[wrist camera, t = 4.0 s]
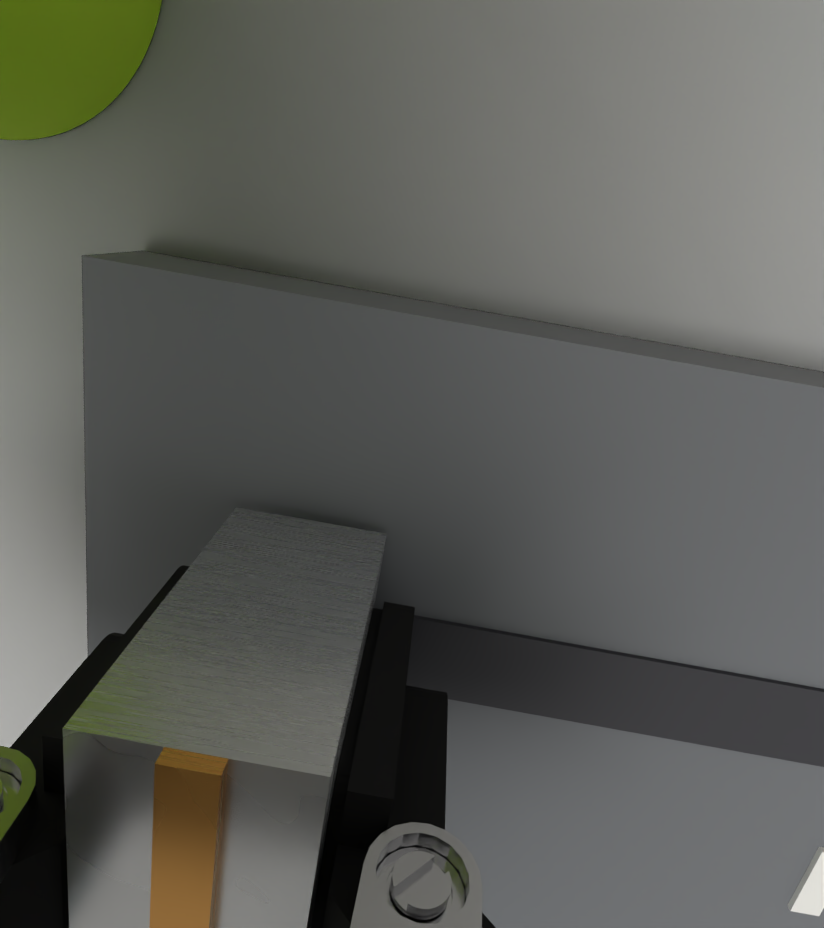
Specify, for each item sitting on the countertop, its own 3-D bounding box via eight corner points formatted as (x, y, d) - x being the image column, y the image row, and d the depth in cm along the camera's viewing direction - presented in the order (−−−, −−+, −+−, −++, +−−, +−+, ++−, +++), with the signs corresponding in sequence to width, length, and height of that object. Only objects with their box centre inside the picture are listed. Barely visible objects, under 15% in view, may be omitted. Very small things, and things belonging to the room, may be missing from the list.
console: (142, 250, 12) (-8, 262, 8) (1243, 446, 12) (1618, 552, 8) (130, 923, 18) (44, 1107, 14) (842, 1054, 18) (945, 1273, 14)
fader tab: (236, 507, 11) (48, 745, 6) (386, 534, 11) (326, 795, 6) (218, 741, 12) (63, 1076, 8) (347, 765, 12) (275, 1115, 8)
